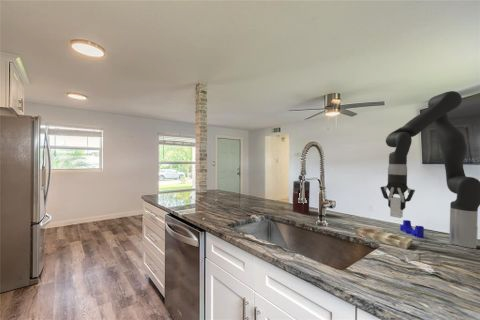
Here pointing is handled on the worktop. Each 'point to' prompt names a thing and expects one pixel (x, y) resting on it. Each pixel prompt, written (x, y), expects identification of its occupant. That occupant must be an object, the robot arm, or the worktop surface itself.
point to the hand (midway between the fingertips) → (396, 208)
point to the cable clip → (408, 229)
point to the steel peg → (396, 207)
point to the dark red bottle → (296, 190)
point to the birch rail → (384, 237)
